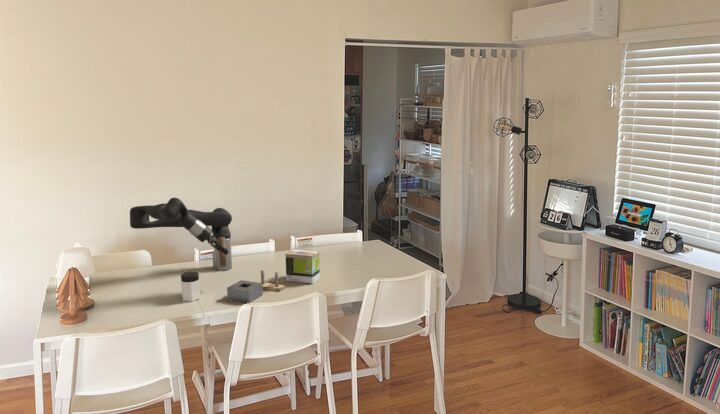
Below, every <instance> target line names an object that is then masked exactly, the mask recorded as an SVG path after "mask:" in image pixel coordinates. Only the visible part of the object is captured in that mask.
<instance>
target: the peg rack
mask: <svg viewBox="0 0 720 414" xmlns="http://www.w3.org/2000/svg"><path fill="white" fill-rule="evenodd" d="M260 279H261V280H260V281H259V283H263V290H265V291H266V290H267V291H273V292H281V291H283V290H285V289H286V286H285V285H282V284H279V283H280V282H279V272H278V271H277V272H274V280H275V281H274V283H269V282H265V281H266V280H265V270H263V269H262V270H260Z"/></svg>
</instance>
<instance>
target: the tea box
mask: <svg viewBox="0 0 720 414" xmlns="http://www.w3.org/2000/svg"><path fill="white" fill-rule="evenodd" d="M320 272H321V271H320V251H318V250H308V249H307V250H306V249H304V250H303V249H294V248H293V249H291V250H290V251H288V252H286V253H285V273H286V274H285V277H286V279H285V281H286V282H296V283H306V284H314V283H315V282H317V281H318V280H319V279H320V276H321V275H320V274H321V273H320Z"/></svg>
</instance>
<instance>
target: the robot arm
mask: <svg viewBox="0 0 720 414" xmlns="http://www.w3.org/2000/svg"><path fill="white" fill-rule="evenodd" d="M150 217H151V218H153V219H155V220H153V221H150ZM232 221H233V218H232V214H231V213H230V212H229V211H228V210H227V209H225V208H224V207H223V208H222V207H217V208H215V209H214V210H212V211H200V210H194V209H188V208H187V206H186V205H185V204H184V202H183V200H181V199H180V198H178V197H171V198H170V199H169V200H168V201H167V203H163V202H162V203H159V204H155V205H153V204H152V205H138V206H137V205H136V206H132V207H131V208H130V210H129V224H130V225H129V226H130V227H131V229H134V230H135V229H136V230H139V229H143V230H144V229H154V228H184V229H186V231H187V232H188V233H190V234H191V236H193V237H194V238H196V239H197V240H198V241H200V242H201V243H204V242H205V241H206V242H207V244H209V245H210V246H211V247H213V251H212V269H214V270H216V271H222V272H223V271H228V270H229V271H230V270H232V268H233V260H232V257H233V256H232V239H231V238H232V237H231V235H232V234H231V230H230V229H229V225H230V224H231V223H232ZM210 227H211V228H210ZM219 237H225V247H226V249H225V248H224V247H223V246H222V245H220V242H218V238H219ZM219 246H220V247H219ZM219 251H221V252H222V253H224V254H225V255H226V266H223V267H221V266H220V260H219Z"/></svg>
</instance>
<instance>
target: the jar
mask: <svg viewBox="0 0 720 414" xmlns="http://www.w3.org/2000/svg"><path fill="white" fill-rule="evenodd" d="M199 279H200V275H199V272H197V271H187V272H184V273H180V284H181V297H182V302H191V301H192V302H195V301H198V300H200V299H201V290H200V280H199ZM197 299H198V300H197Z"/></svg>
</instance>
